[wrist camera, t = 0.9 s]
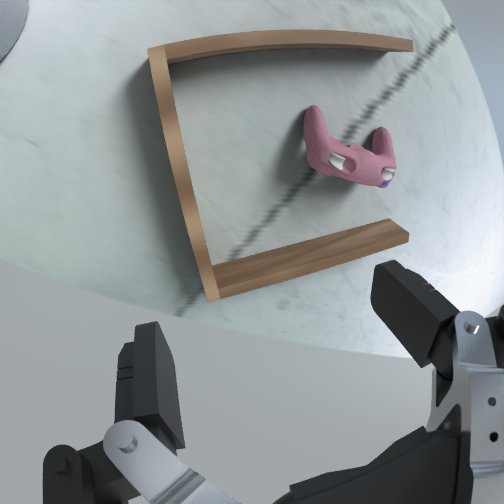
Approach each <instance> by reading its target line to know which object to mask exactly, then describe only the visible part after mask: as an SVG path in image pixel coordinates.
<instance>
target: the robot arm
mask: <svg viewBox="0 0 504 504" xmlns="http://www.w3.org/2000/svg"><path fill="white" fill-rule="evenodd" d="M27 13H28V0H0V60H1V59H2V58H3V57H4V56H5V55H6V54H7V53H8V52H9V51H10V49H11V48H12V47H13V46H14V44H15V42H16V41H17V39H18V37H19V36H20V34H21V31H22V29H23V27H24V24H25V21H26V18H27ZM370 298H371V305H372V308H373V310H374V311H375V313H376V314H377V315H378V316H379V317H380V318H381V320H382V321H383V322H384V323H385V324H386V326H387V327H388V328H389V329H390V330H391V332H392V333H393V334H394V335H395V336H396V338H397V339H398V340H399V341H400V342H401V344H402V345H403V346H404V347H405V349H406V350H407V351H408V352H409V354H410V355H411V356H412V357H413V359H414V360H415V361H416V362H417V363H418V365H419V366H420V367H421V368H423V367H425V366H427V365H428V364H430V363H432V364H433V365H434V368H433V370H432V400H431V401H432V402H431V414H430V417H429V420H428V423H427V426H426V429H425V428H424V426H422V427H420V428H418V429H417V430H415V431H413V432H411V433H410V434H408V435H406V436H405V437H403V438H401V439H399V440H397V441H395V442H394V443H393V444H392V445H391V446H390V447H388V448H387V449H386V450H385V451H384V452H383V453H382V454H380V455H379V456H378V457H377V458H375V459H374V460H373V461H372V462H371V463H369V464H368V465H366V466H362V467H357V468H352V469H346V470H341V471H334V472H328V473H325V474H322V475H319V476H316V477H314V478H311V479H308V480H305V481H302V482H299V483H296V484H292V485H290V486H289V487H290V492H288V493H287V494H285V495H283V496H282V497H281V498H279V499H278V500H276V501H275V502H274V503H273V504H504V305H503V306H502V307H501V309H500V311H499V314H498V316H494V317H489V318H484V317H483V316H481V315H480V314H478V313H476V312H473V311H462V312H460V311H459V310H458V309H457V308H456V307H455V306H454V305H453V304H452V303H450V302H449V301H448V300H447V299H446V298H445V297H444V296H443V295H442V294H441V293H440V292H438V291H437V290H435V288H434V287H433V286H432V285H431V284H428V282H427V281H426V280H425V279H424V278H423V277H422V276H420V275H419V274H417V273H415V272H413V271H411V270H409V269H405V268H404V267H403V266H402V265H401V264H400V263H398V262H397V261H396V260H391V261H388V262H384V263H381V264H378V265H376V266H375V269H374V275H373V283H372V290H371V297H370ZM117 368H118V371H117V382H116V399H115V421H114V425H112V426H111V427H110V428H109V429H108V430H107V432H106V434H105V436H104V439H103V440H102V441H101V442H99V443H97V444H94V445H92V446H89V447H87V448H84V449H81V450H79V451H76V450H75V449H74V448H72V447H70V446H68V445H57V446H55V447H53V448H52V449H50V450H49V451H48V453H47V454H46V456H45V458H44V461H43V504H128V500H130V499H132V498H135V497H138V496H140V495H142V496H143V497H144V498H145V499H146V500H147V501H149V503H150V504H240V503H239V502H237V501H236V500H234V499H233V498H231V497H230V496H229V495H227V494H226V493H224V492H223V491H222V490H220V489H219V488H217V487H216V486H215V485H213V484H212V483H211V482H209V481H208V480H207V479H205V478H204V477H202V476H201V475H200V474H198V473H197V472H195V471H193V470H192V469H191V468H189V467H188V466H187V465H186V464H185V463H184V462H182V461H181V460H180V459H179V458H178V457H177V453H176V449H182V448H185V442H184V436H183V430H182V422H181V416H180V408H179V399H178V391H177V383H176V372H175V364H174V360H173V356H172V353H171V351H170V349H169V346H168V344H167V342H166V339H165V337H164V335H163V332H162V330H161V328H160V325H159V323H158V322H157V321H155V322H150V323H145V324H141V325H137V326H136V327H135V337H134V342H129V343H125V344H124V346H123V348H122V350H121V352H120V354H119V355H118V366H117Z"/></svg>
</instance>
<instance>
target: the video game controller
mask: <svg viewBox="0 0 504 504" xmlns="http://www.w3.org/2000/svg"><path fill="white" fill-rule="evenodd" d="M303 131H304V139H305V144H306V148H307V156H306V159H307V161H308V163H309V165H310V166H311V167H312V168H313V169H315V170H316V171H318V172H319V173H321V174H323V175H326V176H330V177H336V176H337V177H340V178H342V179H345V180H348V181H351V182H355V183H359V184H363V185H369V186H377V187H380V188H385V187H387V186H388V184H389V183H390V181H391V180H392V178H393V177H394V174H395V170H396V161H395V157H394V152H393V145H392V140H391V136H390V134H389V132H388V130H387V129H385V128H384V127H379V128H377V129H376V131H375V132H374V135H373V139H372V152H370V151H369V150H366V149H364V148H363V147H361V146H360V145H358V144H350V146H349V147H347V146H344V145H342V144H341V143H340V142H339V141H338V140H336V139H334V138H331V137H329V136H328V134H327V131H326V127H325V123H324V118H323V114H322V112H321V110H320V109H319V107H318V106H315V105H312V106H310V107H309V108H308V109H307V110H306V113H305V116H304V126H303Z"/></svg>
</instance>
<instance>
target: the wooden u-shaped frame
mask: <svg viewBox="0 0 504 504" xmlns="http://www.w3.org/2000/svg"><path fill="white" fill-rule="evenodd" d="M290 48H343V49H361V50H374V51H384V52H414V50H413V41H412V40H408V39H403V38H397V37H390V36H384V35H376V34H368V33H359V32H348V31H332V30H268V31H253V32H241V33H232V34H223V35H216V36H209V37H202V38H196V39H191V40H185V41H180V42H175V43H170V44H166V45H161V46H157V47H153V48H149V49H147V51H148V56H149V62H150V68H151V73H152V78H153V84H154V89H155V94H156V99H157V104H158V109H159V114H160V118H161V123H162V128H163V132H164V137H165V141H166V146H167V150H168V155H169V159H170V163H171V167H172V172H173V176H174V180H175V184H176V188H177V192H178V196H179V200H180V204H181V208H182V211H183V215H184V219H185V223H186V227H187V230H188V234H189V238H190V241H191V245H192V248H193V252H194V256H195V259H196V263H197V266H198V270H199V273H200V276H201V280H202V283H203V286H204V290H205V293H206V296H207V300H208V302H211V301H215V300H218V299H222V298H226V297H229V296H233V295H237V294H240V293H244V292H248V291H251V290H255V289H258V288H262V287H265V286H269V285H272V284H276V283H279V282H283V281H286V280H289V279H293V278H296V277H300V276H303V275H306V274H310V273H313V272H316V271H320V270H323V269H326V268H329V267H333V266H336V265H339V264H342V263H346V262H349V261H352V260H355V259H358V258H361V257H365V256H368V255H371V254H374V253H377V252H380V251H383V250H386V249H389V248H392V247H395V246H398V245H401V244H404V243H407V242H408V240H409V233H408V232H407V231H406V230H404V229H403V228H402V227H400V226H399V225H398V224H396V223H395V222H393V221H392V220H391V219H386V220H382V221H378V222H375V223H371V224H367V225H364V226H360V227H356V228H352V229H349V230H345V231H341V232H338V233H334V234H330V235H326V236H323V237H319V238H315V239H312V240H308V241H304V242H300V243H297V244H293V245H289V246H285V247H282V248H278V249H274V250H270V251H267V252H263V253H259V254H255V255H252V256H248V257H244V258H240V259H237V260H233V261H229V262H225V263H222V264H218V265H214V266H212V265H211V261H210V257H209V253H208V249H207V245H206V241H205V237H204V233H203V229H202V225H201V221H200V217H199V213H198V208H197V204H196V200H195V196H194V191H193V187H192V183H191V178H190V174H189V169H188V165H187V160H186V156H185V151H184V146H183V142H182V137H181V132H180V127H179V122H178V117H177V112H176V107H175V102H174V97H173V92H172V86H171V81H170V76H169V70H168V65H170V64H174V63H179V62H183V61H188V60H194V59H199V58H205V57H211V56H217V55H224V54H231V53H240V52H249V51H259V50H272V49H290Z"/></svg>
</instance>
